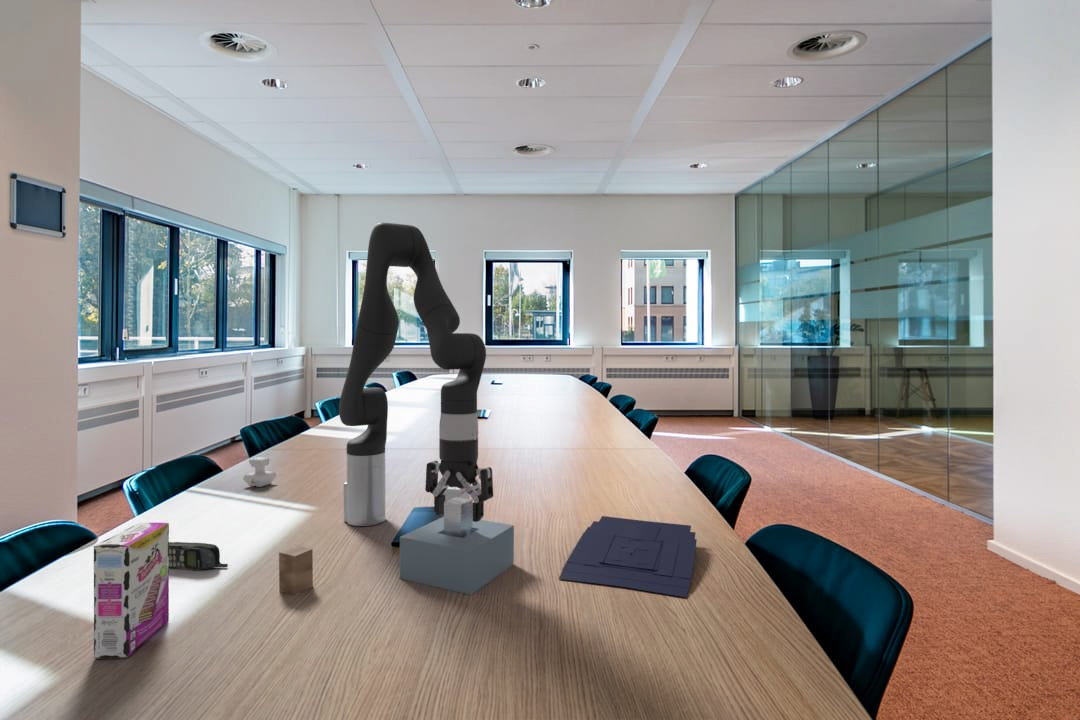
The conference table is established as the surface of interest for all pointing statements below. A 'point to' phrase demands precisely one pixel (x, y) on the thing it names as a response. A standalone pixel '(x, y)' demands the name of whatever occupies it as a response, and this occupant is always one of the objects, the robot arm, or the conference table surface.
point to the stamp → (259, 473)
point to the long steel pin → (458, 517)
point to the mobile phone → (194, 556)
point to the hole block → (456, 555)
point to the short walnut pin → (295, 569)
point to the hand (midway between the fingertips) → (458, 517)
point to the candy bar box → (130, 589)
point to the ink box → (455, 494)
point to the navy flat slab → (634, 555)
